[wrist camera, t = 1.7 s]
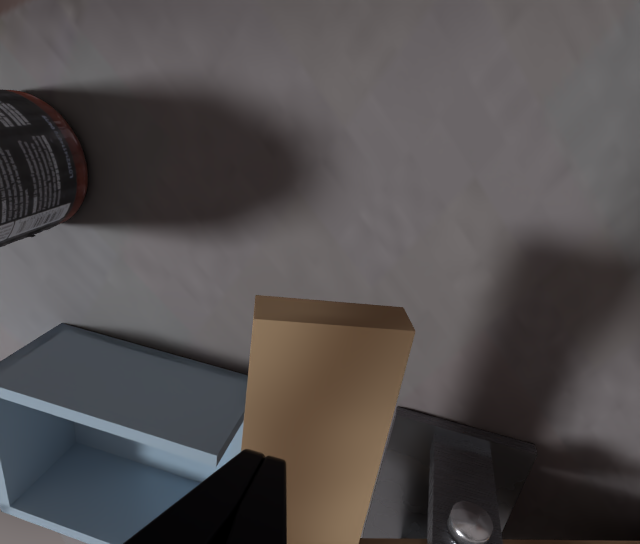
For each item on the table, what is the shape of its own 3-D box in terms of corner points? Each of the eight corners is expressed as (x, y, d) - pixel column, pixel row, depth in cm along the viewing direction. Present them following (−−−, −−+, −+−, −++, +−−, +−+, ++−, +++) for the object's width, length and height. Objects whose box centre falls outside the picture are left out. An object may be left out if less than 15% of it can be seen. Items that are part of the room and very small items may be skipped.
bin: (263, 379, 22) (217, 455, 17) (249, 498, 25) (208, 587, 21) (61, 322, 24) (-28, 378, 19) (74, 440, 27) (1, 511, 23)
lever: (906, 349, 15) (1059, 420, 12) (693, 614, 21) (760, 704, 18) (216, 292, 12) (197, 368, 9) (198, 622, 18) (183, 732, 15)
